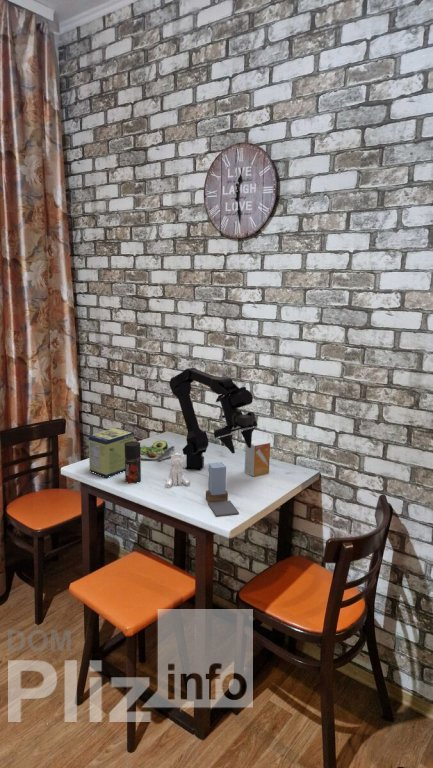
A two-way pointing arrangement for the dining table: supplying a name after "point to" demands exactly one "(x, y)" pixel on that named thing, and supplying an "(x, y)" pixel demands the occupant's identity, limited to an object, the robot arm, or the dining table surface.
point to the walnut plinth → (216, 497)
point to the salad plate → (156, 451)
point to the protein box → (108, 451)
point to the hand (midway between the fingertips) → (242, 450)
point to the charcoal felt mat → (223, 508)
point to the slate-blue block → (217, 478)
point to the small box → (257, 457)
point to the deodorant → (132, 462)
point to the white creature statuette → (177, 472)
